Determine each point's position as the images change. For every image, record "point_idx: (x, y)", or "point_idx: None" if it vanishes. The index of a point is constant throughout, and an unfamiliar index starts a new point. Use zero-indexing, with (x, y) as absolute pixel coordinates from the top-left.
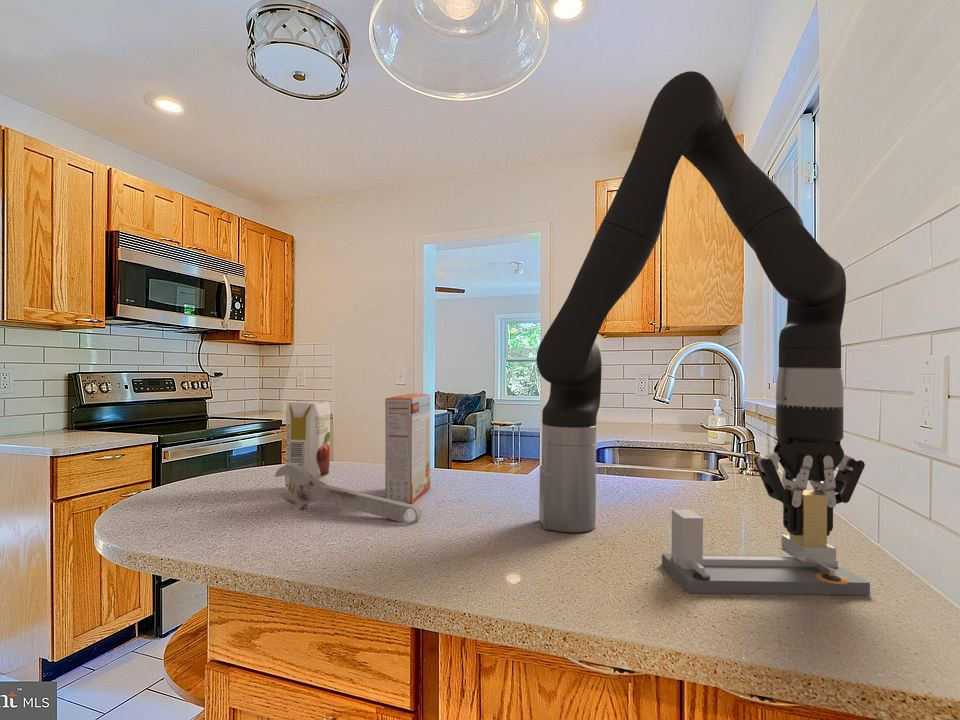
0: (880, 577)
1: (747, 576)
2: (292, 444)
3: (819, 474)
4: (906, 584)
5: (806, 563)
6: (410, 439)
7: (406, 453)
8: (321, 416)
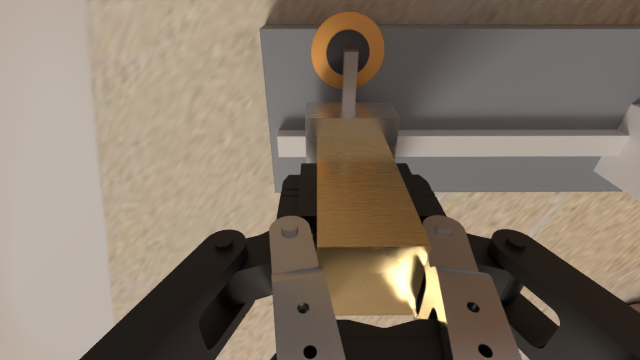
0: (178, 130)
1: (557, 62)
2: None
3: (355, 357)
4: (138, 94)
5: (385, 102)
6: None
7: None
8: None
